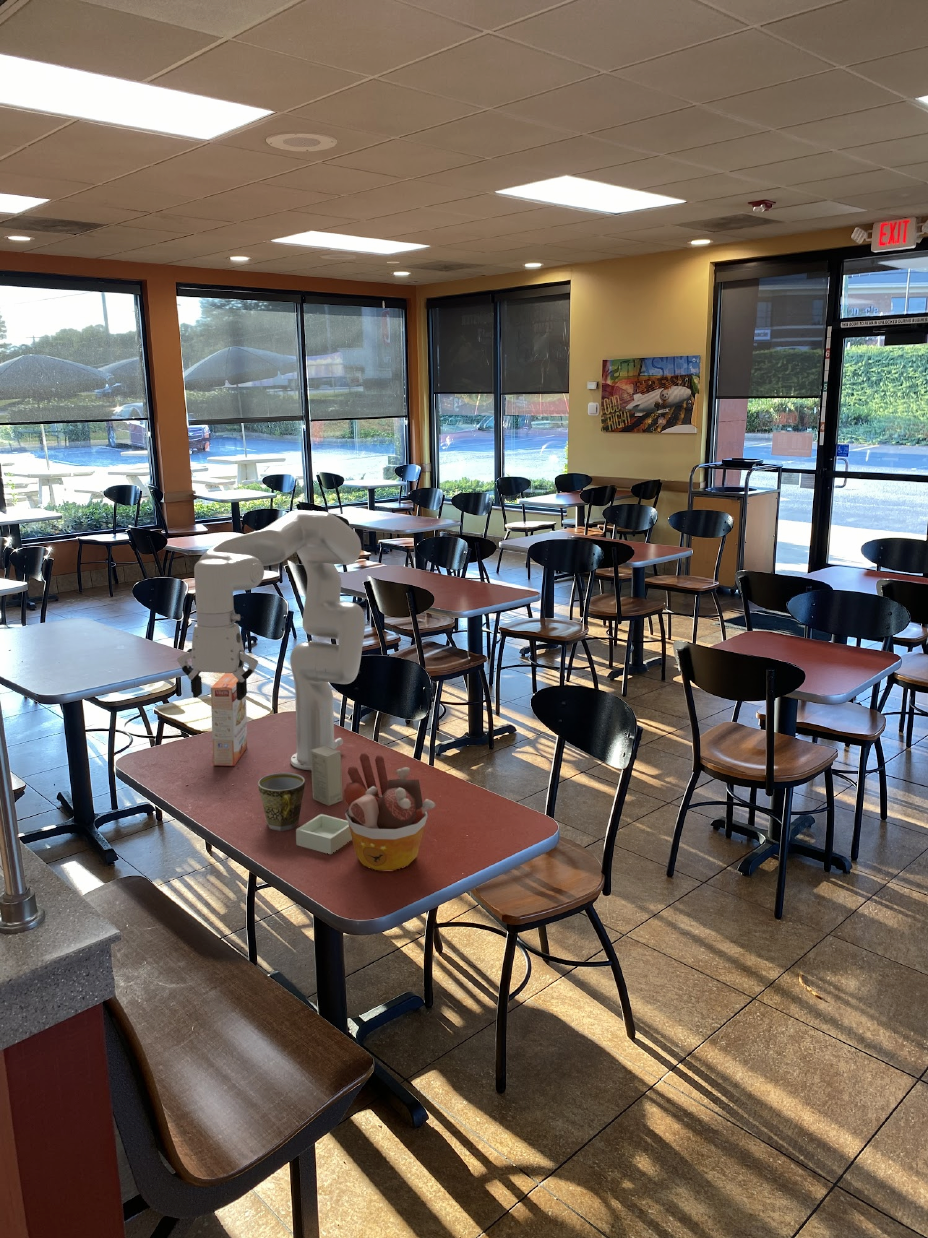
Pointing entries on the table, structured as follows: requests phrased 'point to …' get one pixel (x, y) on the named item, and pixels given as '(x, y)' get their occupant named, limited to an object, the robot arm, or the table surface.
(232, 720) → the cracker box
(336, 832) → the holder
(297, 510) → the robot arm
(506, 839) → the table surface
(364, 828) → the bucket of meat
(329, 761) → the skincare box
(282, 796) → the ceramic cup
